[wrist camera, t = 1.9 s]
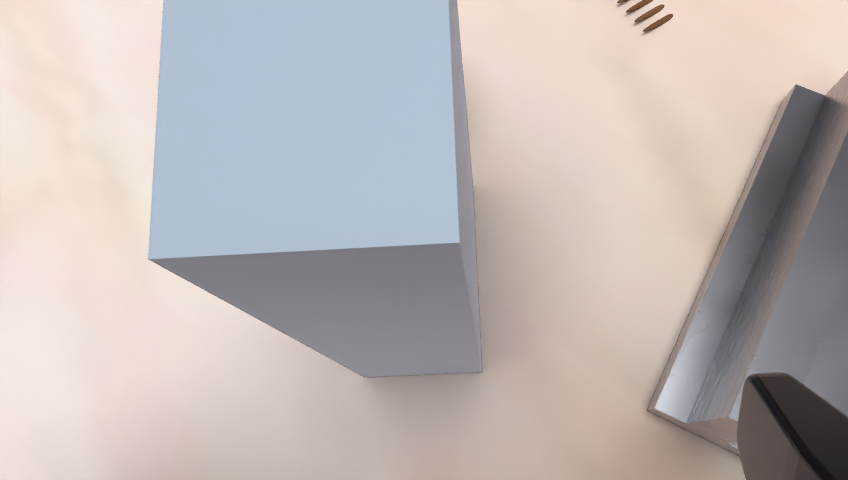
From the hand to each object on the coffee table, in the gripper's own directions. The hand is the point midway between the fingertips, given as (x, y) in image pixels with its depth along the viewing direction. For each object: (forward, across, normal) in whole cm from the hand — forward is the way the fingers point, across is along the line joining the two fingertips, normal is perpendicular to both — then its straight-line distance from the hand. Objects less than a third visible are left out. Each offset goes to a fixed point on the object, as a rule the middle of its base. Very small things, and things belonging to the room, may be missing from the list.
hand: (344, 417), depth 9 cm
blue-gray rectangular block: (+10, 0, +5) cm, 12 cm away
